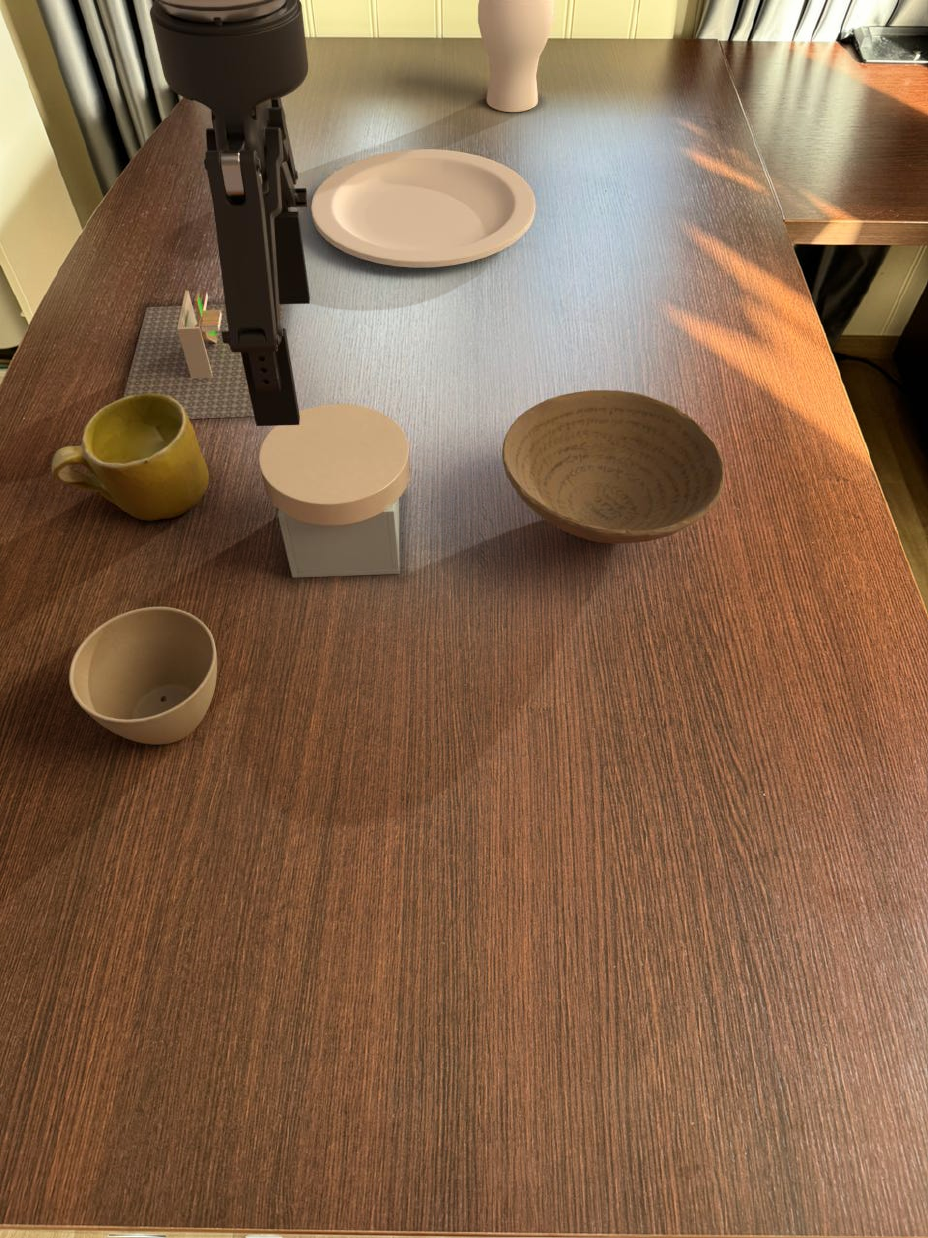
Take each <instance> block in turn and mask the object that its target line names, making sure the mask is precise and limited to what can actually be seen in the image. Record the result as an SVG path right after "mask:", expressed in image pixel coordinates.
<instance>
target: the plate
mask: <svg viewBox="0 0 928 1238" xmlns="http://www.w3.org/2000/svg"><path fill="white" fill-rule="evenodd" d="M311 200H312V201H311V206H310V207H311V209H310V210H311V215H312V221H313V224H314V226H315V228H316V230H317V231H318V232H319V234H320V235H321V236H322V237H323V238H324V240H326V241H327V242H328V243H329V244H331V245H332V246H333V247H335V248H337V249H339V250H340V251H343V252H344V253H346V254H347V255H351V256H353V257H355V258H358V259H361V260H363V261H368V262H372V263H376V264H380V265H386V266H392V267H402V268H403V267H404V268H415V269H417V268H439V267H448V266H449V267H451V266H455V265H456V266H457V265H461V264H466V263H471V262H474V261H478V260H482V259H484V258H487V257H490V256H492V255H494V254H497V253H500V252H501V251H504V250H505V249H507V248H508V247H510V246H512V245H513V244H514V243H516V242H517V241H519V239H521V238H522V237H523V236H524V235H525V234H526V232H527V231H528V230H529V228H530V227H531V226H532V224H533V221H534V219H535V214H536V199H535V194H534V192H533V190H532V188H531V186H530V185H529V183H528V182H527V181H526V180H525V179H524V178H523V177H522V176H521V175H520V174H518V173H517V172H516V171H514V170H513V169H511V168H510V167H508V166H506V165H504V164H503V163H500V162H498V161H496V160H493V159H490V158H487V157H484V156H481V155H478V154H477V155H476V154H472V153H468V152H463V151H457V150H449V149H432V148H428V149H427V148H426V149H425V148H423V149H422V148H421V149H419V148H417V149H416V148H415V149H407V150H406V149H405V150H397V151H390V152H384V153H380V154H376V155H371V156H368V157H366V158H362V159H359V160H357V161H354V162H351V163H349V164H347V165H345V166H343V167H341V168H340V169H337V170H336V171H335V172H333V173H331V175H329V176H328V177H327V178H325V180H323V181H322V182H321V183H320V185H319V186H318V188H317V189H316V190H315V192H314V195H313V197H312V199H311Z"/></svg>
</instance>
